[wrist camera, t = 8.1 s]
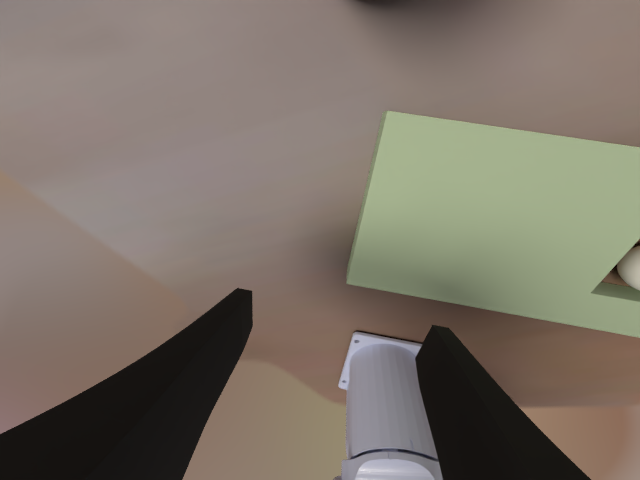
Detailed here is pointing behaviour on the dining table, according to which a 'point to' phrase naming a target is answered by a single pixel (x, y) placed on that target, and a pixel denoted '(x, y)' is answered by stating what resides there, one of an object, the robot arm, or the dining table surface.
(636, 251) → the ball
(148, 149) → the dining table surface
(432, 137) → the board with rectangular hole
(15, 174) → the dining table surface
